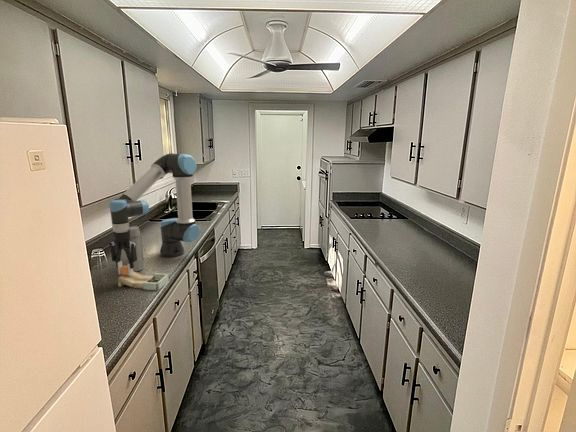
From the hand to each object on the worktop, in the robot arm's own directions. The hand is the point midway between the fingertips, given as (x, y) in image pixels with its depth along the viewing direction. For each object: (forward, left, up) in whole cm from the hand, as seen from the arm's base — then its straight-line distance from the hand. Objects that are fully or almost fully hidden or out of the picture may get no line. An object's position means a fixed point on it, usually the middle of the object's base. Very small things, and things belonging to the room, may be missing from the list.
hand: (126, 273), depth 168 cm
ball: (0, 0, 0) cm, 0 cm away
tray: (0, +16, -5) cm, 17 cm away
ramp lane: (0, +5, -5) cm, 7 cm away
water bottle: (-17, -4, -5) cm, 18 cm away
